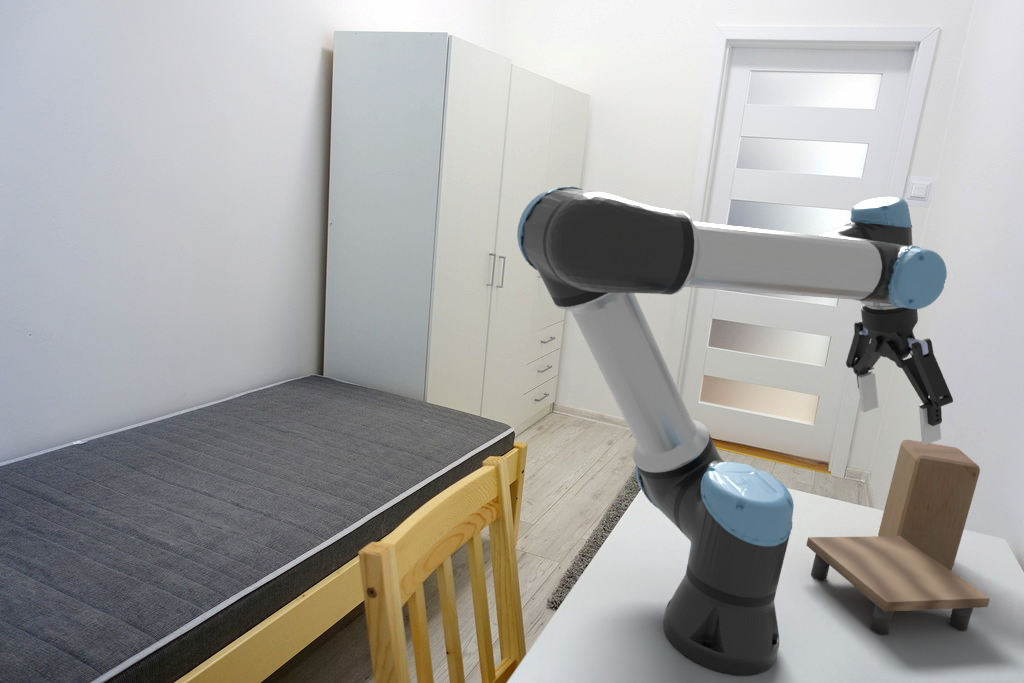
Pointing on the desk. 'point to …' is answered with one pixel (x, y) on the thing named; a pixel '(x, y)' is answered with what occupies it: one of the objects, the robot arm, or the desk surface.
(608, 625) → the desk surface
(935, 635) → the desk surface
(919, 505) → the wooden block
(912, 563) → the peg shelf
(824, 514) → the desk surface
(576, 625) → the desk surface
